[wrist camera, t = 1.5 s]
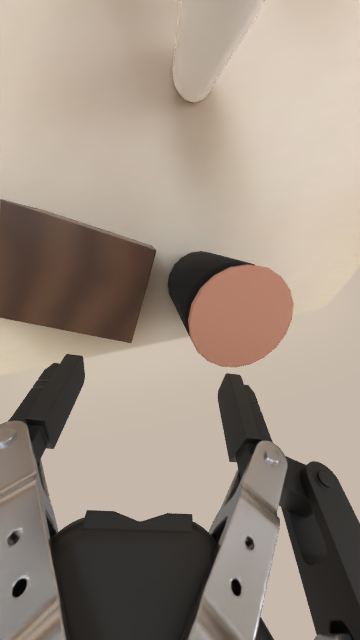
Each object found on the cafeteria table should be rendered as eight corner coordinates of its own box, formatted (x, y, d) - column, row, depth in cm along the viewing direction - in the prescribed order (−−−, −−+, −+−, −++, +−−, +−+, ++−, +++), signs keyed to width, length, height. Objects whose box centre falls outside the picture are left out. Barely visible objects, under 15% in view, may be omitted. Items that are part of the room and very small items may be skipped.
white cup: (194, 125, 28) (244, 22, 14) (154, 76, 26) (169, -106, 12) (228, 77, 27) (318, -86, 13) (190, 21, 24) (253, -253, 11)
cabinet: (35, 295, 33) (-4, 317, 24) (43, 210, 29) (-1, 199, 20) (133, 317, 37) (131, 343, 28) (152, 246, 33) (156, 249, 24)
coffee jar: (166, 312, 38) (186, 371, 21) (167, 250, 34) (192, 264, 17) (222, 310, 39) (281, 364, 23) (229, 251, 35) (306, 265, 19)
